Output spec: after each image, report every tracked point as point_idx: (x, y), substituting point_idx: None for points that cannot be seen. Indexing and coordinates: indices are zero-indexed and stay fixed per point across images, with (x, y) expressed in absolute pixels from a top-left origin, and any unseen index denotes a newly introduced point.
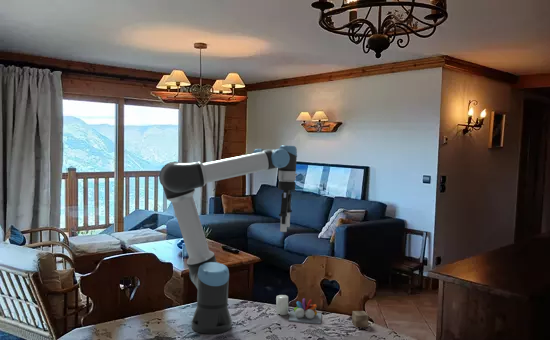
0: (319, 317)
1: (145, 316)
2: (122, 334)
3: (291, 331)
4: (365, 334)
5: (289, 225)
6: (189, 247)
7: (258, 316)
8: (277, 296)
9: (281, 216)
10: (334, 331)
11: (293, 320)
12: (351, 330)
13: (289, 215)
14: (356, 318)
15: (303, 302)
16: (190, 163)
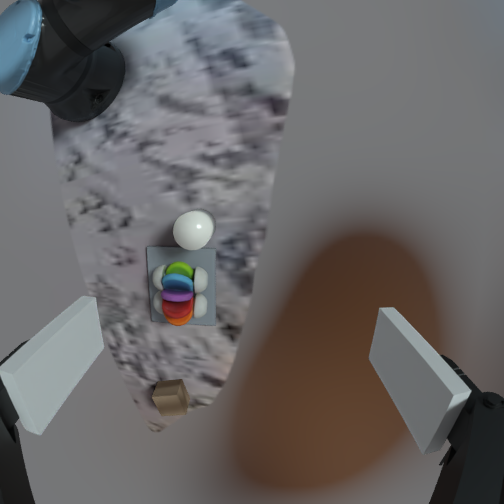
0: None
1: None
2: None
3: (94, 256)
4: (132, 390)
5: (374, 366)
6: None
7: (162, 164)
8: (192, 215)
9: (3, 376)
10: (124, 342)
11: (147, 258)
12: (141, 372)
13: (413, 428)
14: (153, 393)
15: (161, 295)
16: None
